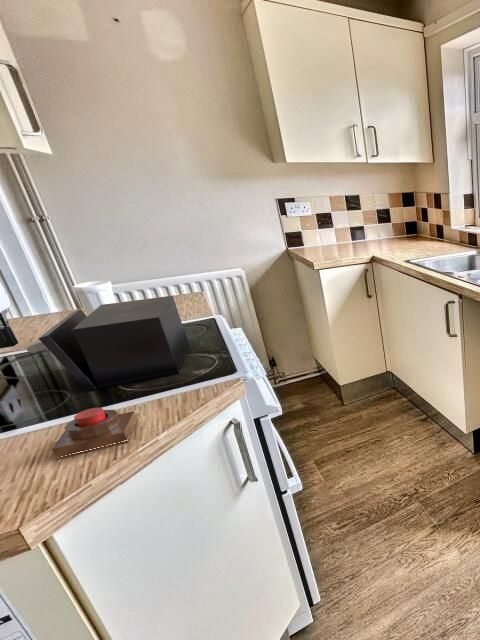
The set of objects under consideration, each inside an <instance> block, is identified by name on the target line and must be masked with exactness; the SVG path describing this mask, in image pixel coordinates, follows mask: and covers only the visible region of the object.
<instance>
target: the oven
mask: <svg viewBox="0 0 480 640" xmlns="http://www.w3.org/2000/svg"><path fill="white" fill-rule="evenodd" d="M86 316H87V317H86V318H85V319H84V320H83V321H82V322H81V323H79V324H78V325H77V326H76V327H75V328H74V329H73V332H74V334H75V336H76V339H77V341H78V343H79V345H80V347H81V350H82V352H83V354H84V356H85V359H86V361H87V363H88V365H89V368H90V370H91V372H92V374H93V377H94V379H95V381H96V383H97V386H98V390H99V391H103V390H106V389H112V388H118V387H122V386H127V385H132V384H137V383H138V384H139V383H143V382H147V381H153V380H158V379H162V378H168V377H173V376H178V375H180V374H181V371H182V368H183V365H184V362H185V360H186V357H187V354H188V351H189V350H190V349H189V348H190V342H189V339H188V336H187V334H186V331H185V328H184V325H183V323H182V318H181V316H180V314H179V311H178V307H177V304H176V301H175V298H174V295H168V296H159V297H152V298H143V299H137V300H136V299H135V300H128V301H127V300H126V301H119V302H116V303H111V304H103V305H100V306H99V307H98V308H97V309H96V310H94V311H93V312H92V313H91V314H90V315H89V316H88V315H86Z"/></svg>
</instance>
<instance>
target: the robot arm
mask: <svg viewBox="0 0 480 640" xmlns="http://www.w3.org/2000/svg"><path fill="white" fill-rule="evenodd" d="M11 304H12V303H11V300H10V297H9V296H8V293H7V292H6V289H5V288H4V286H3V284H2V282H0V349H1V350H2V349H6V348H12V347H13V348H14V347H16V345H18V344H19V341H18V339H17V337H16V334H15V333H14V331H13V329H12V327H11V326H10V321H9V319H8V317H7V314H8V309H9V308H10V306H11Z"/></svg>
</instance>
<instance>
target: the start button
mask: <svg viewBox="0 0 480 640" xmlns="http://www.w3.org/2000/svg"><path fill="white" fill-rule="evenodd" d="M103 410H104V409H103V408H102V407H92V408H88V409H84V410H82V411H80V412H78V413H77V414H75V415H74V418H73V420H74V419H75V421H76V423H77V425H78V426H79V427H84V426H88V425H93V424H95V423H98V422H101V421H102V420H104V419H106V418H107V417H106V415H105V413H104V411H103Z"/></svg>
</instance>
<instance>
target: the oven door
mask: <svg viewBox="0 0 480 640" xmlns="http://www.w3.org/2000/svg"><path fill="white" fill-rule="evenodd" d="M87 316H88V315H87V314H86V313H85V312H84V311H83V310H82V309H81V308H80V309H76V310H74V311H72V312H71V313H69V314H68V315H66V317H64V318H62V319H61V320H60V321H58V323H56V324H55V325H54V326H52V327H51V328H50V329H48V330H47V331H46V332H44V333H43V334H42V335H41V336H39V337H38V338H37V339H36V340H35V341H34V342H32V343H31V344H30V345H29V346H27V347H26V351H27V352H28V353H29V354H37V353H39V352H41V351H43V350H46V349H47V350H48V351H49V352H50V353H51V354H52V355H53V356H54V358H55V359H56V360H57V361H59V363H60V364H61V365H62V366H63V368H65V369H66V371H68V373H69V374H70V375H71V376H72V377H73V378H74V379H75V380H76V381H77V382H78V383H79V384H80V386H81V387H82V388H83V389H84V390H85V391H86V392H87V393H92V392H94V391H96V390H99V388H98V386H97V383H96V381H95V379H94V377H93V374H92V372H91V370H90V368H89V365H88V363H87V361H86V359H85V356H84V354H83V352H82V350H81V347H80V345H79V343H78V341H77V339H76V336H75V334H74V332H73V329H74V328H75V327H76V326H77V325H78V324H79V323H81V322H82V321H83V320H84V319H85V318H86V317H87Z"/></svg>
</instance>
